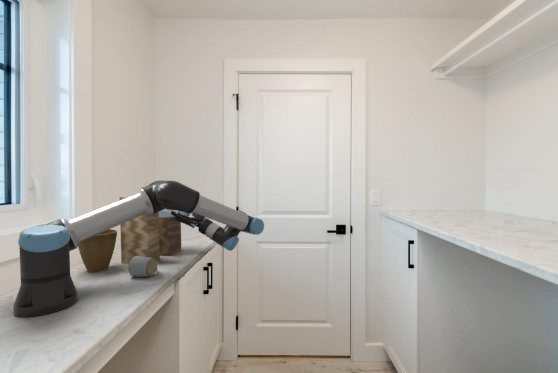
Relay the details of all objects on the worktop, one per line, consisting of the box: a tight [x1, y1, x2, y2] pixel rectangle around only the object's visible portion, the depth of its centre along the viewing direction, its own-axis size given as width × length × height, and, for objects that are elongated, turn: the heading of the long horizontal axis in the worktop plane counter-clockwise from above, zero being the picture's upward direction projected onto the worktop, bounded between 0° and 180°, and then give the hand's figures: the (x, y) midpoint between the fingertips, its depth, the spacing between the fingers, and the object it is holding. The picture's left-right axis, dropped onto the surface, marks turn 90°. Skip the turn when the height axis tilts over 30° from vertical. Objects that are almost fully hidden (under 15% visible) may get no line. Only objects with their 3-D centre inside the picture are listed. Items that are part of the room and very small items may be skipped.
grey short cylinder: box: [127, 256, 159, 278], centre depth 116 cm, size 11×8×8 cm
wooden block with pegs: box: [159, 209, 182, 257], centre depth 151 cm, size 16×11×22 cm, turn 77°
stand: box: [119, 195, 161, 265], centre depth 135 cm, size 14×8×30 cm, turn 77°
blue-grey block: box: [159, 209, 191, 217], centre depth 150 cm, size 22×4×3 cm, turn 77°
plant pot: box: [77, 228, 118, 273], centre depth 124 cm, size 15×15×16 cm
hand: (175, 207), depth 149 cm, fingers open, 13 cm apart
